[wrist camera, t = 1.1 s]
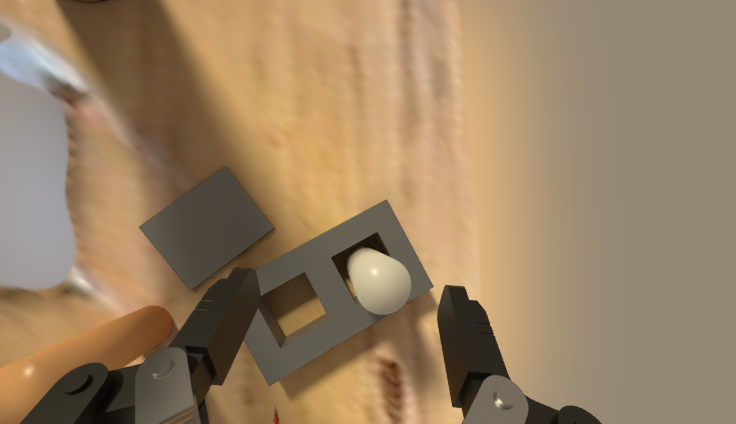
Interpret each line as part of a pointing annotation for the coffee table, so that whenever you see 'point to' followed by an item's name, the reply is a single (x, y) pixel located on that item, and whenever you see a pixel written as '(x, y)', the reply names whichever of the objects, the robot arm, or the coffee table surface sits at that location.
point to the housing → (337, 289)
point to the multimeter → (276, 418)
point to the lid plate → (207, 228)
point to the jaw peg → (79, 358)
